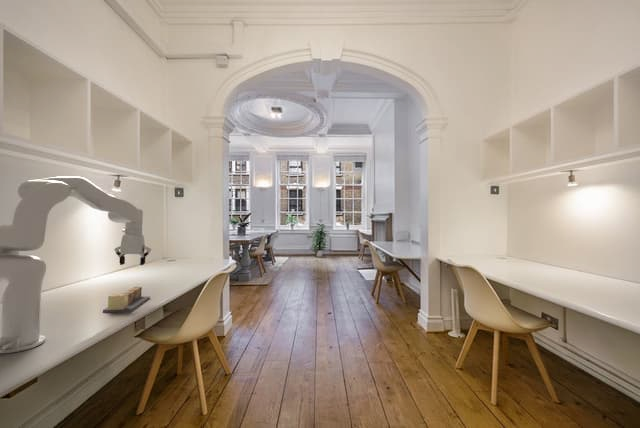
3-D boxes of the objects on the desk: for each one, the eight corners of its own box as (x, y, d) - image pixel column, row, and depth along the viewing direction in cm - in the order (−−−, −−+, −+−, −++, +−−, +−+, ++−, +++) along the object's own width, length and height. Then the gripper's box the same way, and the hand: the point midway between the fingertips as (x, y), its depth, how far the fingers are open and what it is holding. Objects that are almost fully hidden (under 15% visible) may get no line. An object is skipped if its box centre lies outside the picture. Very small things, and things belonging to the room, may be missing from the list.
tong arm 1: (124, 304, 142) (124, 294, 142) (120, 304, 142) (120, 294, 142) (137, 296, 157) (137, 286, 157) (134, 296, 157) (134, 287, 157)
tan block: (123, 309, 135) (124, 296, 135) (107, 309, 134) (108, 296, 134) (127, 306, 139) (128, 293, 139) (112, 307, 138) (112, 294, 138)
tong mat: (130, 311, 136) (130, 309, 136) (102, 312, 134) (102, 310, 134) (149, 298, 158) (149, 296, 158) (125, 299, 156) (125, 296, 156)
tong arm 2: (128, 304, 142) (128, 294, 143) (124, 304, 142) (125, 294, 142) (141, 296, 157) (141, 286, 157) (138, 296, 157) (138, 286, 157)
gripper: (111, 232, 145) (110, 265, 144) (148, 232, 147) (146, 266, 147) (119, 231, 152) (118, 263, 152) (154, 232, 154) (153, 263, 154)
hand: (132, 264), depth 149 cm, fingers open, 9 cm apart
